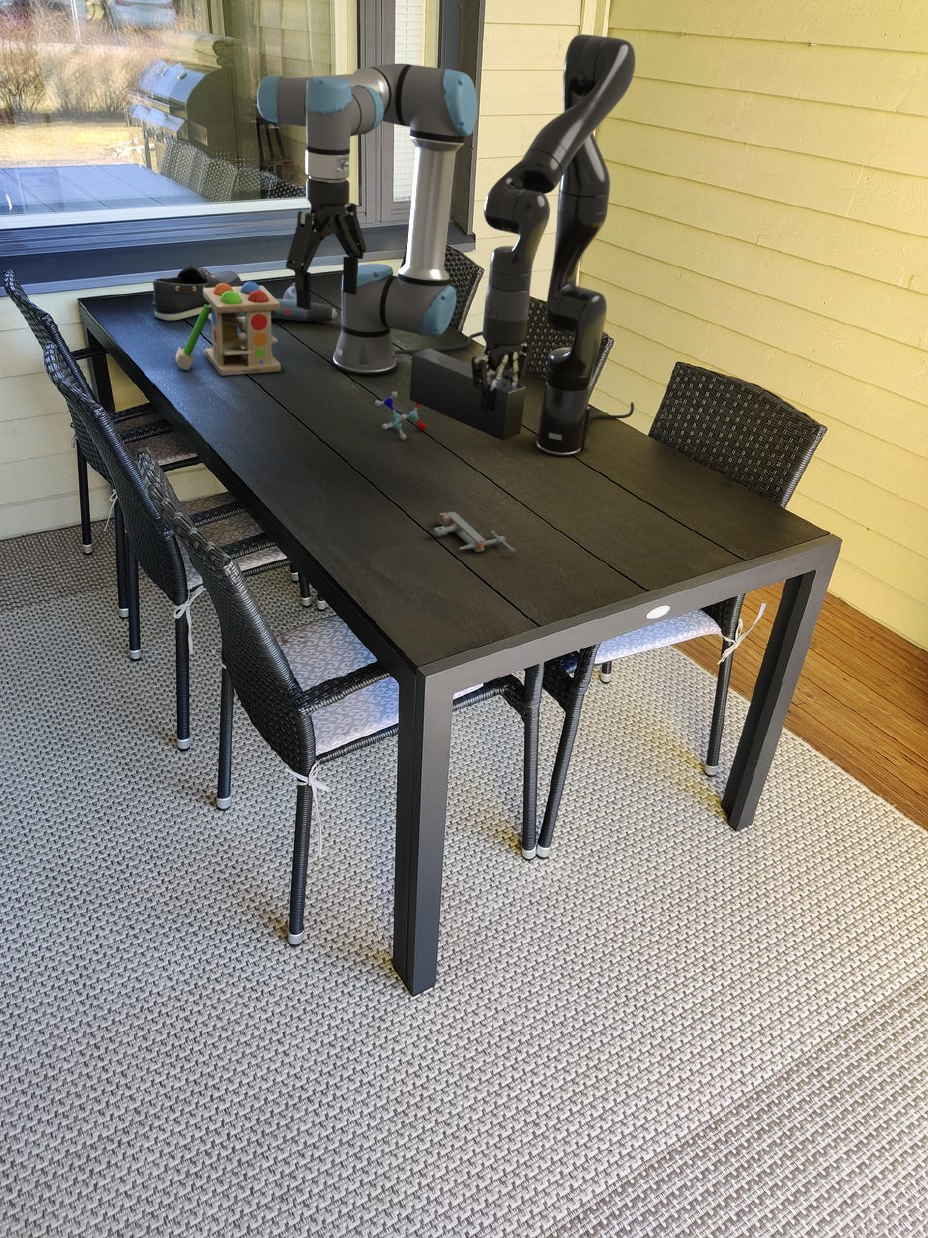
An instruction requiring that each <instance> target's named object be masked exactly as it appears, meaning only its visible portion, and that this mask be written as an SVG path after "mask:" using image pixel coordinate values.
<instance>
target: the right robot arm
mask: <svg viewBox="0 0 928 1238" xmlns="http://www.w3.org/2000/svg"><path fill="white" fill-rule="evenodd" d="M634 48H635V47H634V46H633V44H632V43H631V42H630V41H629V40H626V39H623V38H618V37H609V36H604V35H603V36H601V35H594V34H584V33H583V34H581V33H580V34H577V35H575V36H573V38H572V39H571V40H570V42H569V44H568V46H567V49H566V52H565V57H564V64H563V73H562V74H563V76H562V79H563V80H562V112H561V113H560V114H559V115H557V116H556V117H554V118H553V119H551V120H550V121H549V122H548V123H547V124H546V125H544V126H543V127H542V128H541V129H540V130H539V131H538V133H537V134H536V135H535V137H534V138H533V140H532V142H531V143H530V145H529V147H528V149H527V150H526V152H525V153H524V155H523V156H522V159H521V160H520V161H518V162H517V163H516V164H515V165H514V166H512V167H511V168H510V169H509V170H508V171H507V172H506V173H504V175H502V177H500V178H499V179H498V180H497V181H496V182H495V183H494V184H493V185H492V187H491V188H490V189H489V192H488V193H487V195H486V197H485V200H484V203H483V204H484V205H483V215H484V219H485V222H486V224H487V225H488V226H489V227H490V228H492V229H494V230H497V231H501V232H505V233H509V234H514V235H517V236H518V239H517V241H516V243H515V245H501V246H498V247H496V248H495V249H493V251H492V253H491V256H490V264H489V274H488V284H487V290H486V294H485V299H484V300H485V301H484V311H483V312H484V313H483V321H482V322H483V323H482V331H483V333H482V335H481V336H482V338H483V340H484V343H485V347H484V349H483V353H482V354H480V355H479V356H475V355H474V356H472V357H471V360H470V362H471V363H470V365H472V375H473V385H474V387H475V388H478V389H480V390H481V391H482V393H481V403H480V405H481V408H482V409H483V410H485V411H487V412H490V411H492V410H493V400H494V392H493V391H494V389H495V386H496V383H497V381H498V380H500V378H501V377H502V378H505V379H507V380H510V381H512V382H515V383H517V384H518V381H519V380H523V379H524V378H525V375H526V372H527V368H528V364H529V360H530V357H531V353H532V347H533V346H531V345H529V344H526V343H524V342H525V341H526V340H527V339H526V338H527V329H528V320H529V314H530V313H529V312H530V303H531V295H530V294H531V293H530V292H531V283H532V273H533V265H534V261H535V258H536V255H537V252H538V249H539V246H540V244H541V240H542V238H543V235H544V233H545V231H546V228H547V226H548V222H549V220H550V216H551V215H550V214H551V208H550V206H551V205H550V202H549V200H548V197H547V196H546V195H547V194H550V193H551V192H553V191H554V190H555V189H556V188H557V186H558V195H557V196H558V197H557V211H556V213H557V214H556V230H555V241H554V242H555V244H554V252H553V260H552V267H551V274H550V279H549V286H548V292H547V297H546V298H547V299H546V307H545V317H546V322H547V325H548V326H549V327H550V328H551V329H552V330H553V331H556V332H559V333H562V334H564V335H568V336H571V337H573V342H572V344H571V346H568V347H567V346H566V347H560V348H556V349H553V350H552V351H550V352H549V354H548V359H547V367H546V375H545V381H544V388H543V389H544V390H543V397H542V403H541V410H540V412H541V413H540V419H539V425H538V432H537V439H536V444H535V445H536V448H538V449H539V450H540V451H541V452H543V453H546V454H548V455H551V456H557V457H572V456H575V455H577V454H579V453H580V452H581V451H585V447H586V440H587V433H588V429H589V422H590V421H592V420H595V419H627V418H630V417H631V416H632V415H633V414H634V412H635V403H634V402H630V411H629V412H628V413H625V414H620V415H619V414H616V415H615V414H594V415H590V414H591V406H590V405H589V404H588V403H589V397H590V391H591V386H592V380H593V372H594V368H595V363H596V362H597V361H596V360H597V358H598V356H599V351H600V348H601V342H602V337H603V332H604V329H605V324H606V321H607V320H606V319H607V312H608V303H607V299H606V296H605V295H604V294H603V293H601V292H600V291H597V290H592V289H589V288H587V287H584V286H583V287H582V286H580V285H577V277H578V271H579V265H580V262H581V259H582V257H583V255H584V254H585V252H586V250H587V249H588V248H589V246H590V245H591V244H592V242H593V241H594V240H595V239H596V237H597V236H598V235H599V233H600V231H601V230H602V228H603V226H604V225H605V222H606V220H607V216H608V211H609V202H610V191H611V177H610V173H609V168H608V166H607V163H606V161H605V158H604V157H603V154H602V152H601V149H600V147H599V144H598V143H597V140H596V138H595V134H594V132H595V131H596V129H598V127H600V125H601V124H602V123H603V122H604V121H605V120H606V118H607V117H608V116H609V115H610V114H611V112H612V111H613V110H614V109H615V108H616V107H617V105H618V104H619V103H620V102H621V100H622V99H623V98H624V97H625V95H626V94H627V92H628V90H629V88H630V86H631V84H632V82H633V79H634V75H635V70H636V59H637V58H636V52H635V49H634ZM519 365H520V368H519ZM490 370H491V371H493V372H495V373H493V372H491V371H490ZM489 377H490V378H491V382H490V384H488V379H489ZM480 379H481V382H480Z"/></svg>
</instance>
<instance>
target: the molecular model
mask: <svg viewBox="0 0 928 1238" xmlns="http://www.w3.org/2000/svg"><path fill="white" fill-rule="evenodd" d="M397 397H398V392H397V391H392V392H391V395H390V397H387V398H385V400H381V401H380V400H378V399H377V400H374V405H375V407H380V406H381V405H386V406H387V407H389V408H390V410H391V412H392V414H393V415H392V421H391V422H389V423H383V424H382V426H381V428H382V429H383V431H387V430H388V429H394V430H397V431H398V433H399V436H400V439H401V440H403V441H404V440H406V439H407V434H406V433H404V432H403V430H402V427H403V424H402V422H403V421H405V420H407V419H410V420H413V421H414V422H415V423H416V425H417V426H418V430H419V431H425V430H426V428H427V425H426V424H425V423H424V422H422V420H421V419H420V417H419V413H418V409H419V405H420V404H419V403H416V402H414V403H415V405H414V409H413V410H411V411H410V412H409V414H405V413H403V414H400V413H398V412H396V409H395V408H394V406H393V404H394V399H395V398H397Z"/></svg>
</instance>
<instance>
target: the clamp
mask: <svg viewBox="0 0 928 1238" xmlns="http://www.w3.org/2000/svg"><path fill="white" fill-rule="evenodd" d="M438 525H441V526H438V527H434V528H433V534H434V535H435V536H436V537H443V536H447V535H448V533H453V532H454V533H455V534H457V536H458V537H460V539H462V540H463V541H464V542H465V543H466V545H464V546H460V547H459V548H458V549H459V551H465V550H471V549H472V550H474V552H476V553H482V552H484V551H485V546H490V545H495V544H496V545H503V546H504V547H505V548H507V549H508V550H509V551H510V554H511V555H512V554H515V553H516V548H515V547H512V546H510V545H509V543H507V542H506V538H505V536H504V535H500V536H499V535H498V534H496V532H495V530H491V531H490V532H489V536H492V537H494V538H493V539H488V540H486V539H485V537H483V536H482V535H481V534H480V533H478V532H477V531H476V530H475V529H474V528H473V527H472V526H471V525H470V524H468V522H466V521H465V520H464V519H463V518H462V517H461V516H460V515H459V514H458V513H457V512H455V511H449V512H440V513H439V514H438Z"/></svg>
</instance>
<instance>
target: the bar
mask: <svg viewBox="0 0 928 1238" xmlns="http://www.w3.org/2000/svg"><path fill="white" fill-rule="evenodd" d="M425 349H426V350H423V351H419V352H416V353H412V354H411V365H410V381H409V383H410V385H409V400H410V401H411V402H414V403H415V402H416V403H419V405H421V406H422V407H423V406H424V408H425V407H426V408H428V409H431V410H432V411H435V412H437V413H438V414H441V415H443V416H445V417H448V418H450V419H452V420H455V421H457V422H459V423H462V424H463V425H466V426H468V427H470V428H473V429H475V430H477V431H479V432H482V433H484V434H486V435H489V436H491V437H493V438H495V439H497V440H500V441H502V442H504V441H506V440H509V439H512V438H515V437H517V436H520V435H521V431H522V422H523V414H524V407H525V399H526V389H527V387H526V386H524V385H523V384H520V383H518V382H517V383H515V382H512V381H510V380H507V379H505V378H503V376H501V378H500V380H498V381H497V383H496V386H495V389H494V391H493V392H494V400H493V410H492V411H490V412H487V411H485V410H483V409H482V408H481V405H480V403H481V393H482V391H481V390H480V389H478V388H475V387H474V385H473V375H472V364H471V363H467V362H465V361H462V360H460V359H458V358H455V357H453V356H450V355H448V354H445V353H442V352H437V351H435V350H432V349H433V348H425ZM480 382H481V379H480ZM490 382H491V378H490V377H489V379H488V384H490ZM416 403H415V404H416Z"/></svg>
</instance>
